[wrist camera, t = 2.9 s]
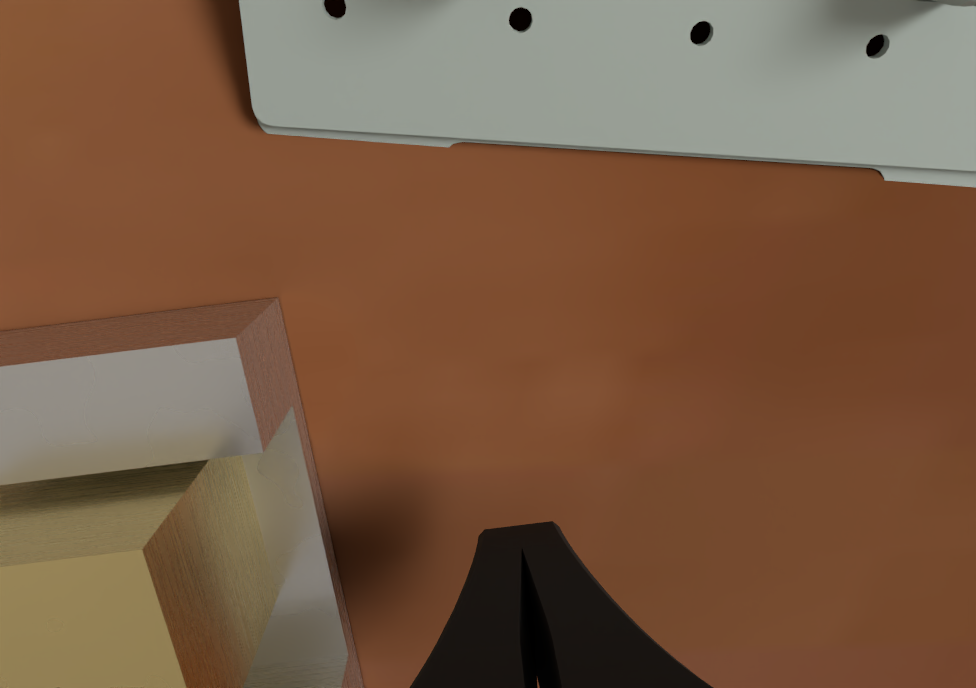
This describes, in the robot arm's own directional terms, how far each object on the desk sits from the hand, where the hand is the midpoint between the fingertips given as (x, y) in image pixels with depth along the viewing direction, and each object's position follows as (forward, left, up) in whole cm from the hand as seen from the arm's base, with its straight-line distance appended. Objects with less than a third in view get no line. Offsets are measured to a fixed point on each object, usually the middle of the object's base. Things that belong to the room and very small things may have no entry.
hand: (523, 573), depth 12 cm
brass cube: (+1, +7, -2) cm, 7 cm away
